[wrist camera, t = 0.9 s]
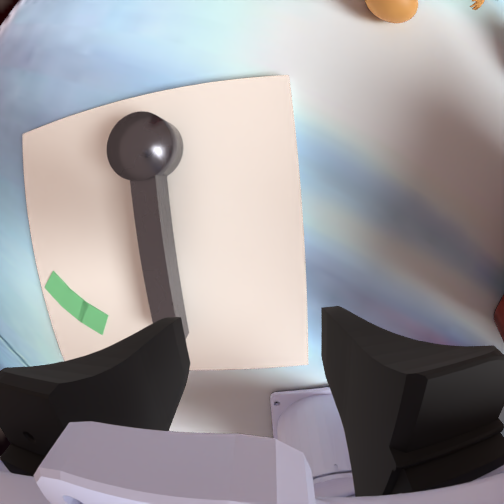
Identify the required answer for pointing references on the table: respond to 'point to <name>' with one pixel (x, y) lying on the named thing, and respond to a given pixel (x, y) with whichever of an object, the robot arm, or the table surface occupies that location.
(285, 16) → the table surface
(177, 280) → the lever
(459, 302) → the table surface
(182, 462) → the robot arm
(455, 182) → the table surface
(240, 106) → the dial board
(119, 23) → the table surface
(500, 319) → the plant pot
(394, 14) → the figurine
